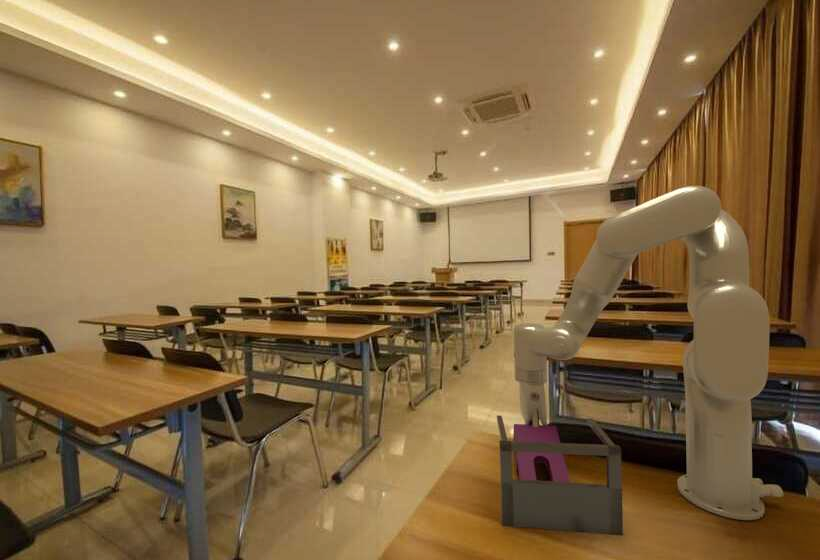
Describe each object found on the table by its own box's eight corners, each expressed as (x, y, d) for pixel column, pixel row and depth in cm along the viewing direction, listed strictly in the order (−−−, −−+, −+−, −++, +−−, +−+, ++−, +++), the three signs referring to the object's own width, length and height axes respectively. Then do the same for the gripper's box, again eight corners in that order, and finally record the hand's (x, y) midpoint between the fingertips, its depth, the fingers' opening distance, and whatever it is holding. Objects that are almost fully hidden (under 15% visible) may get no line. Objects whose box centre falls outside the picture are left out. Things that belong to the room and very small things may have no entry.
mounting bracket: (571, 531, 68) (553, 450, 84) (575, 506, 64) (556, 426, 80) (521, 526, 70) (513, 447, 86) (522, 501, 66) (513, 423, 82)
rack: (596, 491, 71) (595, 418, 71) (623, 535, 59) (621, 448, 59) (496, 484, 74) (494, 415, 74) (502, 525, 62) (499, 443, 62)
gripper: (554, 384, 77) (555, 465, 78) (540, 366, 92) (541, 434, 93) (519, 383, 79) (521, 463, 79) (511, 365, 93) (512, 432, 94)
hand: (532, 447), depth 86 cm, fingers closed
